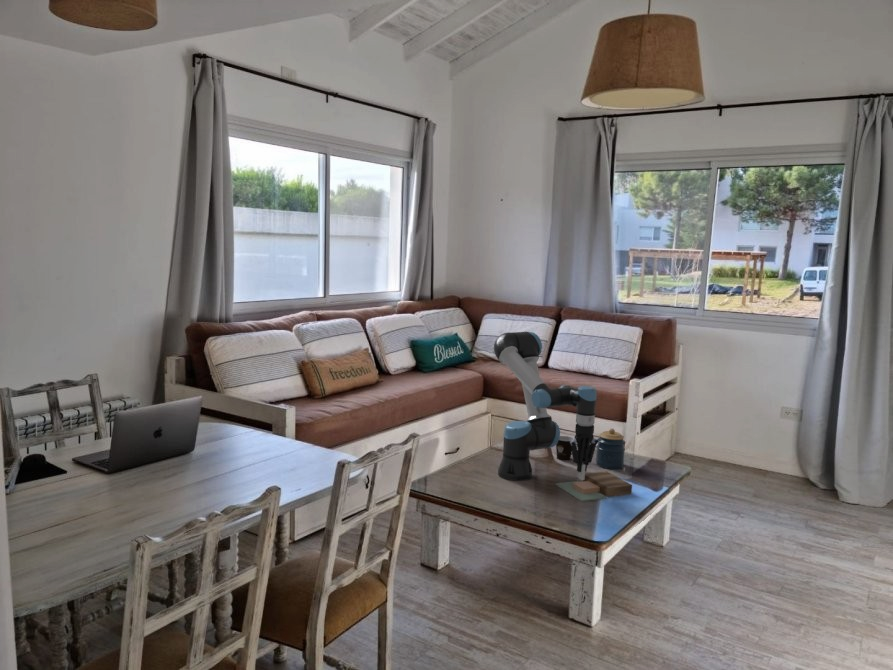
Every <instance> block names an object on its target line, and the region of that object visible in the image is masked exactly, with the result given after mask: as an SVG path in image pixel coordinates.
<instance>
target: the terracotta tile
mask: <svg viewBox="0 0 893 670" xmlns="http://www.w3.org/2000/svg"><path fill="white" fill-rule="evenodd" d="M573 488H575V489H576V490H578V491H579V492H581V493H583V494H586V493H594V492H600V487H599V486H597V485H595V484H593V483H592V482H590V481H583V480H582V481H581V482H574V483H573Z"/></svg>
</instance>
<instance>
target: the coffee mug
mask: <svg viewBox="0 0 893 670" xmlns="http://www.w3.org/2000/svg"><path fill="white" fill-rule="evenodd" d="M572 440H574V437H572V436H568V435H567V436H566V435H560V438H559V440H558V443H557V444H556V445H555V448H556V449H555V450H556V459H557V460H558V459H559V461H562V460H568V461H570V460H571V458H572V449H571V445H570V443H569V441H572ZM577 452H578V449H577Z"/></svg>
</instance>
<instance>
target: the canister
mask: <svg viewBox="0 0 893 670" xmlns="http://www.w3.org/2000/svg"><path fill="white" fill-rule="evenodd" d="M598 436H599V437H598V438H597V439H596V440H598V443H597V445H596V453H595V454H596V456H595V457H596V458H595V465H596V466H598V467H600V468H603V469H607V470H620V469H621V468H623V467H624V463H625V461H624V460H625V451H626V448H625V444H626V440H624V438H625V436H624V435H623V434H621V433H620V432H617V431H615V429H614V428H610V429H608V430H605V431H603V432H601V433H599V434H598Z"/></svg>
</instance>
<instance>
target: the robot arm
mask: <svg viewBox="0 0 893 670" xmlns="http://www.w3.org/2000/svg"><path fill="white" fill-rule="evenodd" d="M542 349H543V343H542V340H541V338H540V336H539V335H538V334H537V333H535V332H533V331H519V332H517V331H516V332H503V333H502V334H500V335H499V336H498V337H496V338H495V342H494V344H493V351H494V352H493V353H494V355H495V357H496V359H497V360H498V361H499V362H500V363H501V364H502V365H505V366H506V367H507V369H509V370H510V372H512V374H513V375H514V376H515V377H516V378H517V379H518V381H519V382H520V383H521V386H522V391H523V394H524V395H523V396H524V400H525V406H526V411H527V414H528V415H527V416H528V417H527V419H526V420H514V421H511V422H508V423H506V424H505V426H504V430H503V444H502V445H503V447H502V458H501V461H500V463H499V465H498V468H497V469H498V470H497V475H498V476H499V477H500V478H503V479H506V480H510V481H527V480H530V479H532V477H533V468H532V465H531V460H530V454H531V453H530V452H531V451H536V450H544V449H545V450H547V449H550V448H553V447H556V444H557V443H558V440H559V438H560V436H561V430H560V427H559V424H557V422H555V421H554V420H553V418H552V416H551V415H550V414H548V411H547V408H554V407H564V406H572V407H574V408H576V414H575V415H576V416H575V428H574V429H575V430H574V432H575V436H574V437H573V438H574V440H572V441H569V443H570V445H571V449H572V452H571V453H572V455H571V457H572V461H573V463H575V464H577V465H576V471H577V479H579V481H583V480H585V473H587V470H588V465H590V464H589V463H592V460H593V458H594V453H595V450H596V448H597V445H598V440H597V439H596V438H594V432H595V422H596V421H595V420H596V419H595V418H596V406H597V397H598V396H597V389H596V388H595V387H594V386H589V385H581V386H579V387H573V386H571V385H567V384H562V385H560V386H559V387H557V388H556V387H555V388H551V387H550V386H549V385H548V384H547V383H546V382H545V381H544V380H543V379H542V377H541V376H540V372H539V368H538V367H539V366H538V363H537V362H538V360H539V359H540V355H541V353H542ZM577 450H578V452H577Z"/></svg>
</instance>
